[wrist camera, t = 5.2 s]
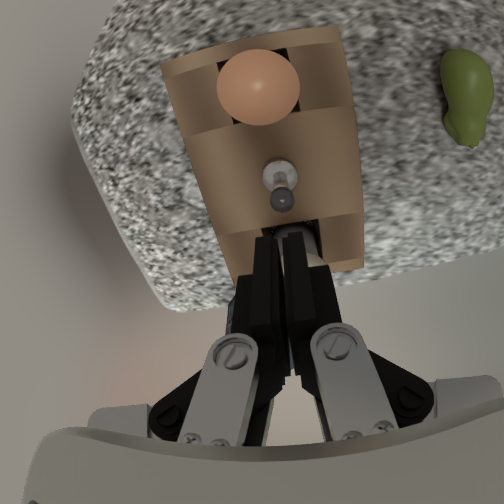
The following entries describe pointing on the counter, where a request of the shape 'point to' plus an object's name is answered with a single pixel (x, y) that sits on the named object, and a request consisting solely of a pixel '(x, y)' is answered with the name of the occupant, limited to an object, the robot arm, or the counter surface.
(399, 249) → the counter surface
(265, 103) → the knob terracotta
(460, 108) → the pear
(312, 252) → the knob cream
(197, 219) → the counter surface
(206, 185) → the wooden condiment caddy
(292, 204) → the pot stem
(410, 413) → the robot arm
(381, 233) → the counter surface
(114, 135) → the counter surface
